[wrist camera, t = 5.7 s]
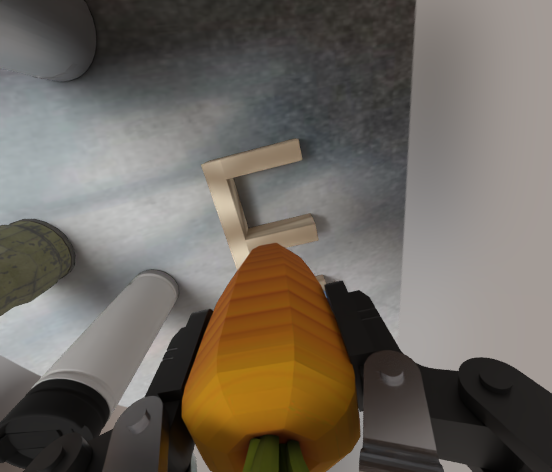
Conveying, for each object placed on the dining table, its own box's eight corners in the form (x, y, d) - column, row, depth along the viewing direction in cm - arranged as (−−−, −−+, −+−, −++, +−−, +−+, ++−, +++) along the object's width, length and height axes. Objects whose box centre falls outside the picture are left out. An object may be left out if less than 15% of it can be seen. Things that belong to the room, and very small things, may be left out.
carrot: (238, 204, 15) (-52, 892, 2) (319, 219, 16) (663, 854, 2) (227, 276, 17) (50, 887, 3) (300, 288, 18) (411, 866, 4)
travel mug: (126, 269, 35) (-39, 425, 16) (175, 268, 35) (65, 422, 16) (136, 308, 37) (3, 482, 19) (182, 306, 37) (94, 479, 19)
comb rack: (209, 160, 30) (197, 166, 25) (296, 137, 29) (301, 139, 24) (271, 349, 41) (271, 377, 36) (336, 336, 40) (345, 363, 35)
